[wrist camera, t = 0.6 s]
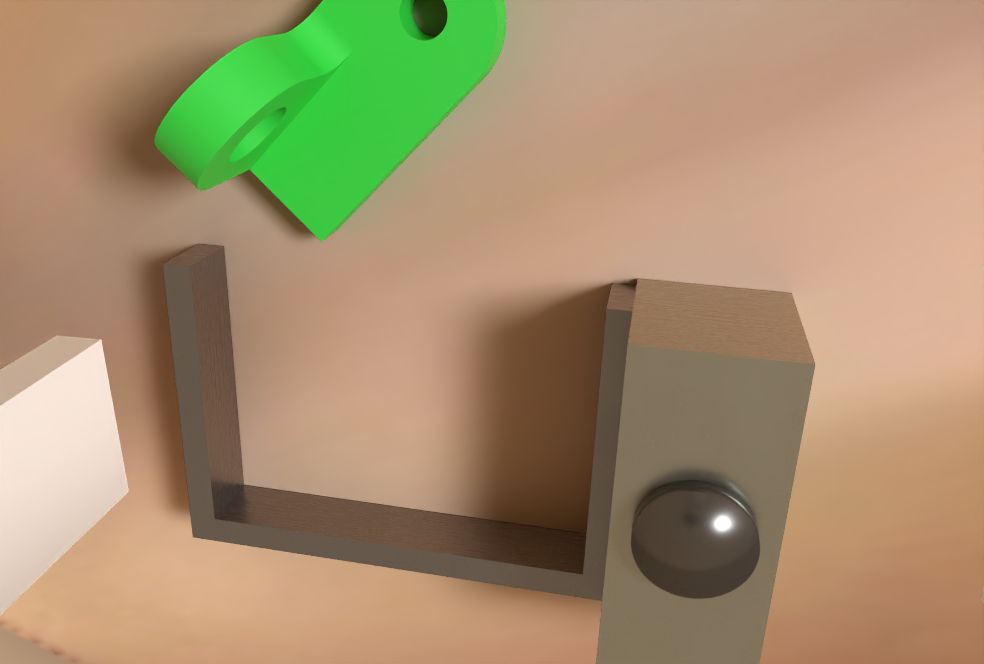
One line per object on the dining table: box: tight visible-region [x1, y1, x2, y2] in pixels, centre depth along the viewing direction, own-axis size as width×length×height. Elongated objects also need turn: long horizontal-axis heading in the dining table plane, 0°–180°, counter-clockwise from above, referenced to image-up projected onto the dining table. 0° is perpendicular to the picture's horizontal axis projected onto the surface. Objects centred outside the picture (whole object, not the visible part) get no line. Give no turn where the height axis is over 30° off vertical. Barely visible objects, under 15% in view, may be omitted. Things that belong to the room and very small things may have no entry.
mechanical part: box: [154, 0, 506, 242], centre depth 32 cm, size 12×6×8 cm, turn 135°
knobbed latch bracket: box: [163, 244, 815, 664], centre depth 36 cm, size 14×25×8 cm, turn 88°
